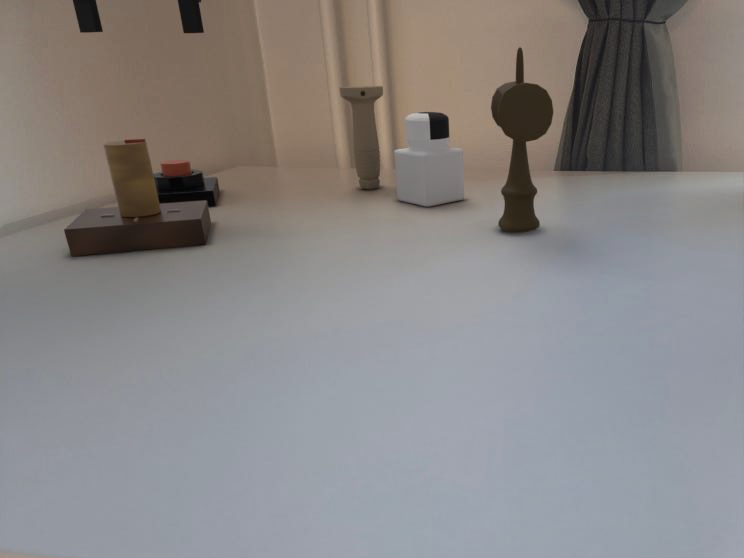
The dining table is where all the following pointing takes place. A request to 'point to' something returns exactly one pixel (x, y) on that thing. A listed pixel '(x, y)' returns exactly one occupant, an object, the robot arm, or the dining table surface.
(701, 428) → the dining table surface
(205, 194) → the release housing
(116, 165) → the yellow cylinder
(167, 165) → the release button
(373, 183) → the handle
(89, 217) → the plate
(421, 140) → the medicine bottle
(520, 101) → the kendama
